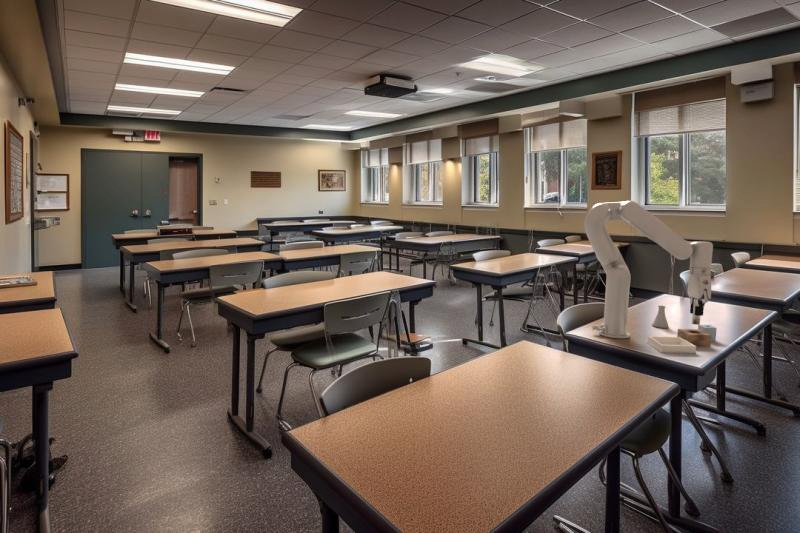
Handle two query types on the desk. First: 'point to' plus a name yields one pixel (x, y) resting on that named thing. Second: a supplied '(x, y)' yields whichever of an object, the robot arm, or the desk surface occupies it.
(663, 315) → the flask
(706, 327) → the block
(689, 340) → the block
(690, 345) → the tray
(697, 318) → the pin gauge
